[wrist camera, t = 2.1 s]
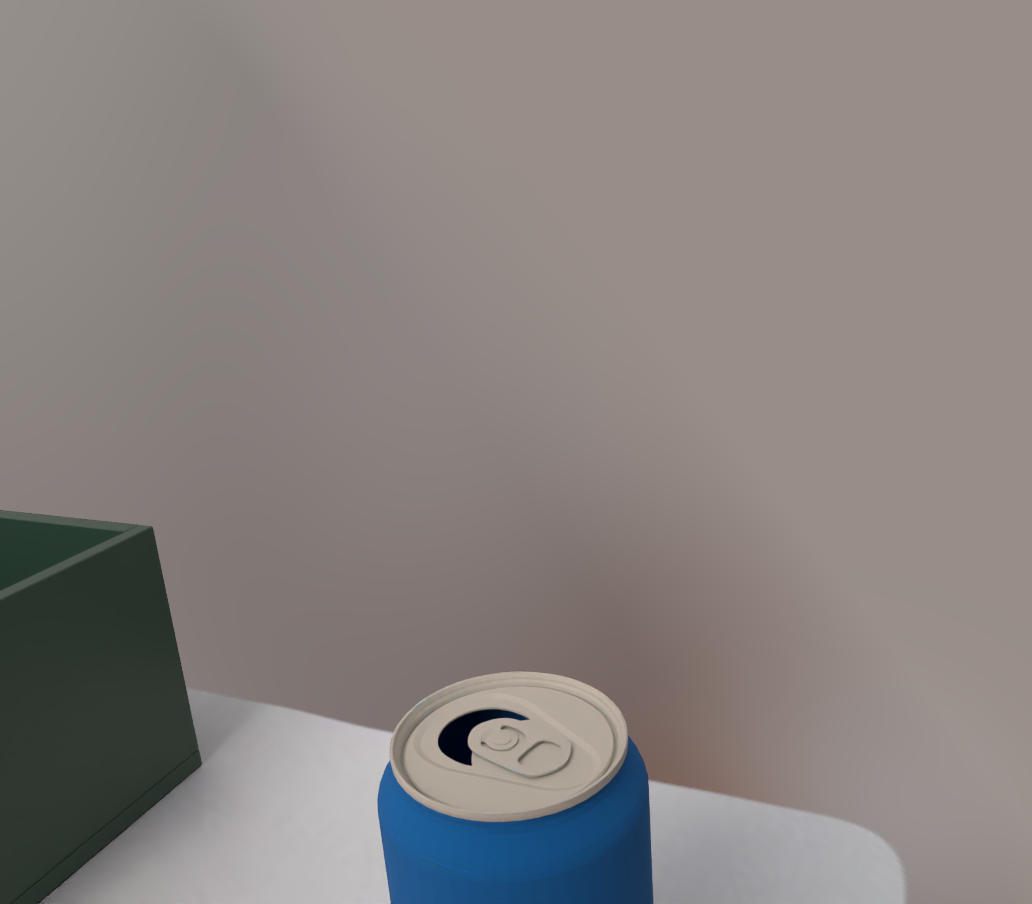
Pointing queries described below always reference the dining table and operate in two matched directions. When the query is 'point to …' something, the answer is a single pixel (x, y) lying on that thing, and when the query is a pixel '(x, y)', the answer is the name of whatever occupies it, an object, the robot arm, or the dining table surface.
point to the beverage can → (516, 797)
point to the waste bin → (82, 694)
